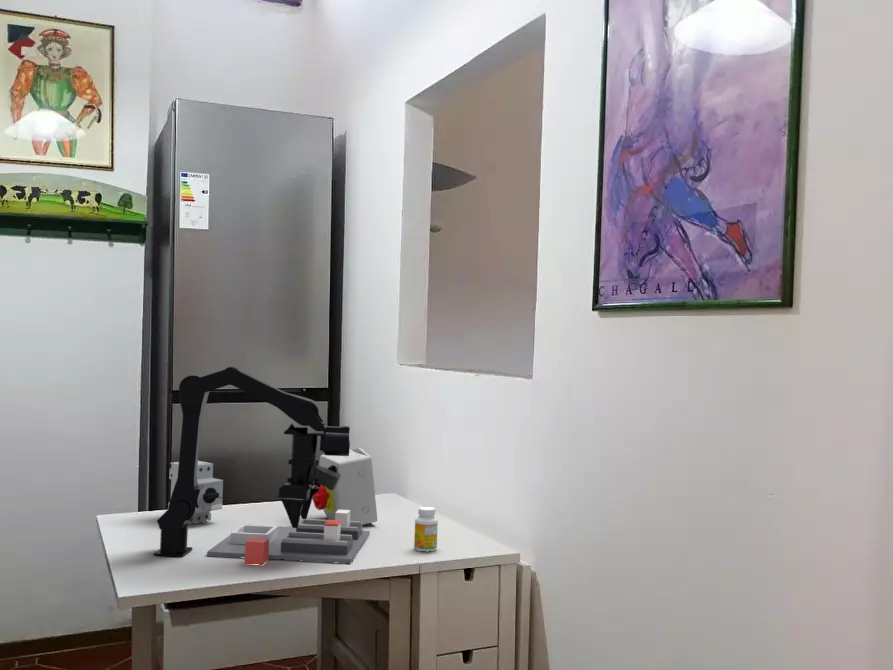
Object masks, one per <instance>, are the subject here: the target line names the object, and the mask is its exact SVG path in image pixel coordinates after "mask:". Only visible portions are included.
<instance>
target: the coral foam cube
mask: <svg viewBox="0 0 893 670" xmlns="http://www.w3.org/2000/svg"><path fill="white" fill-rule="evenodd" d="M268 557H269V538H255V537H251V538H250V539H248V540H247V541H246V544H245V558H244V565H245V564H259V565H263V564H264V563H265V562H267V561H268V562H269V560H268ZM268 562H267V563H268Z"/></svg>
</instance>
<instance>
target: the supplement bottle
mask: <svg viewBox="0 0 893 670" xmlns="http://www.w3.org/2000/svg"><path fill="white" fill-rule="evenodd" d="M417 512H418V516H417V517H416V518H415V520H414V537H413V538H414V539H413V540H414V541H413V548H414V550H415V551H418V552H422V551H426V552H425V553H430V552H429V551H431V552H434V551H436V550H437V548H438V526H439V521H438V519H437V517H436V516H435V515H436V507H432V506H419V507H418V511H417Z"/></svg>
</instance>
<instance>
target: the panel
mask: <svg viewBox="0 0 893 670" xmlns="http://www.w3.org/2000/svg"><path fill="white" fill-rule="evenodd" d="M327 520H328V519H314V518H306V519H302V522H301V523H299V524H298V527H297V528H293V527H292V526H279V525H277V526H276V525H264V524H263V525H260V524H241V525H240V526H239V527H237V528H235V529H234V530H232V531H231V532H230V535H228V536H227V537H225V538H224V539H223V540H221V541H220V542H218V543H217V544H216V545H214V546H213V547H211V548H210V549H209V550H208V551H207V552H206V556H207V557H213V556H217V558H219V557H220V558H231V557H245V544H246V541H247V540H248V539H250V538H251V537H255V538H269V557H268V559H285V560H284V561H286V560H302V561H301V562H305V561H313V562H312V563H316V562H315V561H319V562H318V563H323V562H338V563H337V564H341V563H351V562H352V563H353V561H354V560H355V558H356V557H357V555H358V554H359V552H360V551H361V549H362V547H363V546H364V544H365V543H366V541H367V539H368V538H369V537H370V534H371V533H370V532H371V531H370V530H363V526H364V525H362V522H356V521H350V526H349V527H344V526H341V529H340V540H339V541H333V540H324V523H325V522H326V521H327ZM359 550H360V551H359ZM358 551H359V552H358ZM357 553H358V554H357ZM356 554H357V555H356ZM355 556H356V557H355ZM354 557H355V558H354ZM353 559H354V560H353ZM352 560H353V561H352ZM320 561H321V562H320ZM352 563H351V564H352Z"/></svg>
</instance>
